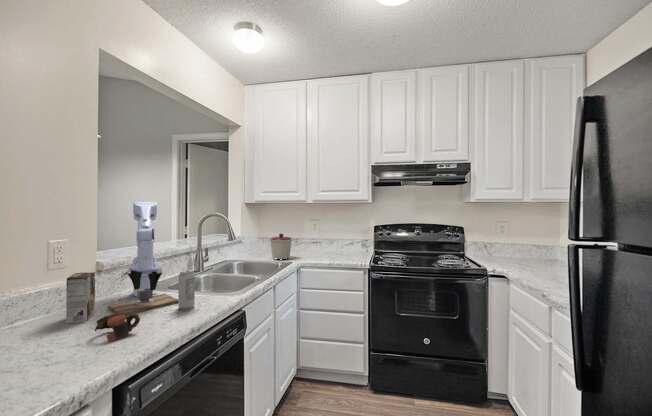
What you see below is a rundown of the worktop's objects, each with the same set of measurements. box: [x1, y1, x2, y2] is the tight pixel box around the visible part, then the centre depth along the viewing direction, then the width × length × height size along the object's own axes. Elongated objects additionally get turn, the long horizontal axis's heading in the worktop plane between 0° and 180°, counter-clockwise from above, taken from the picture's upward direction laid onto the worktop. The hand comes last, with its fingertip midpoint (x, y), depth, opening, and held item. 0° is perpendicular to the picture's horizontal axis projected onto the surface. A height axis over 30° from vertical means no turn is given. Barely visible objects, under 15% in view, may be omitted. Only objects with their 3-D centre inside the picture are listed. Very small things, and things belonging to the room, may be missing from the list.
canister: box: [269, 233, 293, 259], centre depth 245 cm, size 18×18×21 cm
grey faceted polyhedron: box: [136, 288, 154, 300], centre depth 127 cm, size 5×6×4 cm
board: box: [107, 293, 178, 316], centre depth 127 cm, size 15×22×2 cm
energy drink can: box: [177, 269, 196, 310], centre depth 124 cm, size 6×6×15 cm
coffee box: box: [65, 271, 96, 325], centre depth 111 cm, size 9×6×16 cm
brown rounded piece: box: [94, 312, 141, 343], centre depth 97 cm, size 12×10×8 cm
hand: (145, 289), depth 126 cm, fingers open, 7 cm apart
